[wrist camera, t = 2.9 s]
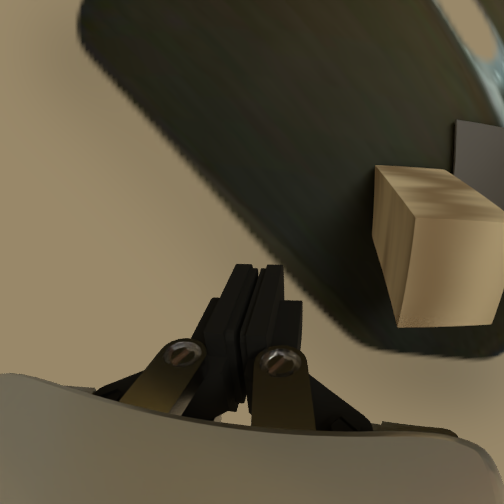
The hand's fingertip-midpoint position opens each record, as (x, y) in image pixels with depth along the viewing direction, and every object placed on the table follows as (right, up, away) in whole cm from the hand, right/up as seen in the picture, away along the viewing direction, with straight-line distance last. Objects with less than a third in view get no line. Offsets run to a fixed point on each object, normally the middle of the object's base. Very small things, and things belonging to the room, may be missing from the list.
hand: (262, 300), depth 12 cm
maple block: (+10, +5, +8) cm, 14 cm away
